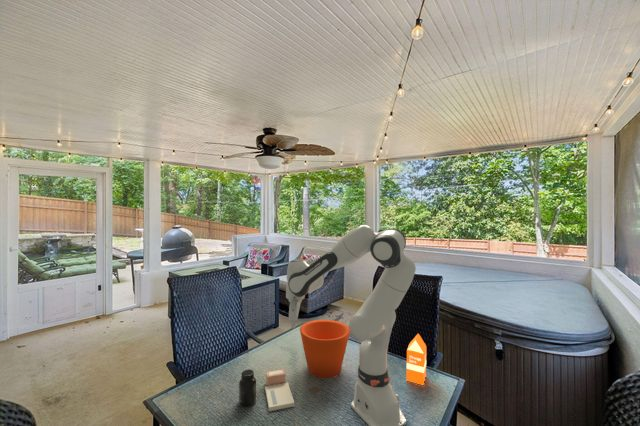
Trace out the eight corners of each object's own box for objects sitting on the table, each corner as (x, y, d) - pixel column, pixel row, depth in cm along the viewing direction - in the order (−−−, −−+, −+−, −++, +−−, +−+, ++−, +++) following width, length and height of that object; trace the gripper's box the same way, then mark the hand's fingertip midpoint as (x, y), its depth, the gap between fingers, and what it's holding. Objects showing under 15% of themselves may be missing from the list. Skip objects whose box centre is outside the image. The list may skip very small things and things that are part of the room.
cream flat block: (294, 406, 110) (294, 402, 110) (269, 411, 107) (269, 407, 107) (287, 385, 123) (287, 381, 123) (265, 389, 120) (265, 385, 120)
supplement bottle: (249, 394, 117) (249, 366, 117) (259, 401, 113) (260, 371, 113) (235, 402, 112) (235, 373, 112) (245, 410, 107) (245, 379, 107)
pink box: (285, 385, 123) (285, 373, 123) (267, 388, 121) (267, 376, 121) (283, 380, 127) (283, 368, 127) (266, 383, 125) (266, 371, 125)
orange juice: (406, 381, 128) (406, 338, 128) (409, 372, 135) (410, 331, 136) (424, 386, 124) (424, 341, 124) (426, 376, 132) (426, 334, 132)
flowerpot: (349, 357, 148) (349, 320, 148) (349, 386, 123) (350, 342, 124) (303, 354, 151) (304, 318, 151) (294, 382, 126) (295, 338, 126)
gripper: (300, 301, 119) (299, 333, 119) (303, 287, 139) (302, 315, 139) (286, 300, 119) (284, 332, 119) (291, 287, 139) (290, 314, 139)
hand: (294, 323), depth 129 cm, fingers open, 8 cm apart
